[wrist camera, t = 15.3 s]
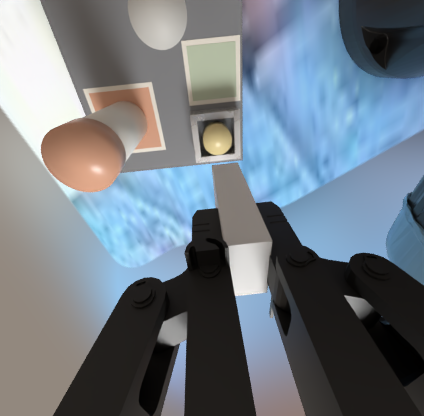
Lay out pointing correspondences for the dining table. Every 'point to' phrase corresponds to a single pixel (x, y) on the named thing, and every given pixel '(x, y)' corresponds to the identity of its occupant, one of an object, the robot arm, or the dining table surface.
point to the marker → (94, 146)
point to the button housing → (213, 114)
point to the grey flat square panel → (154, 66)
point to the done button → (217, 138)
